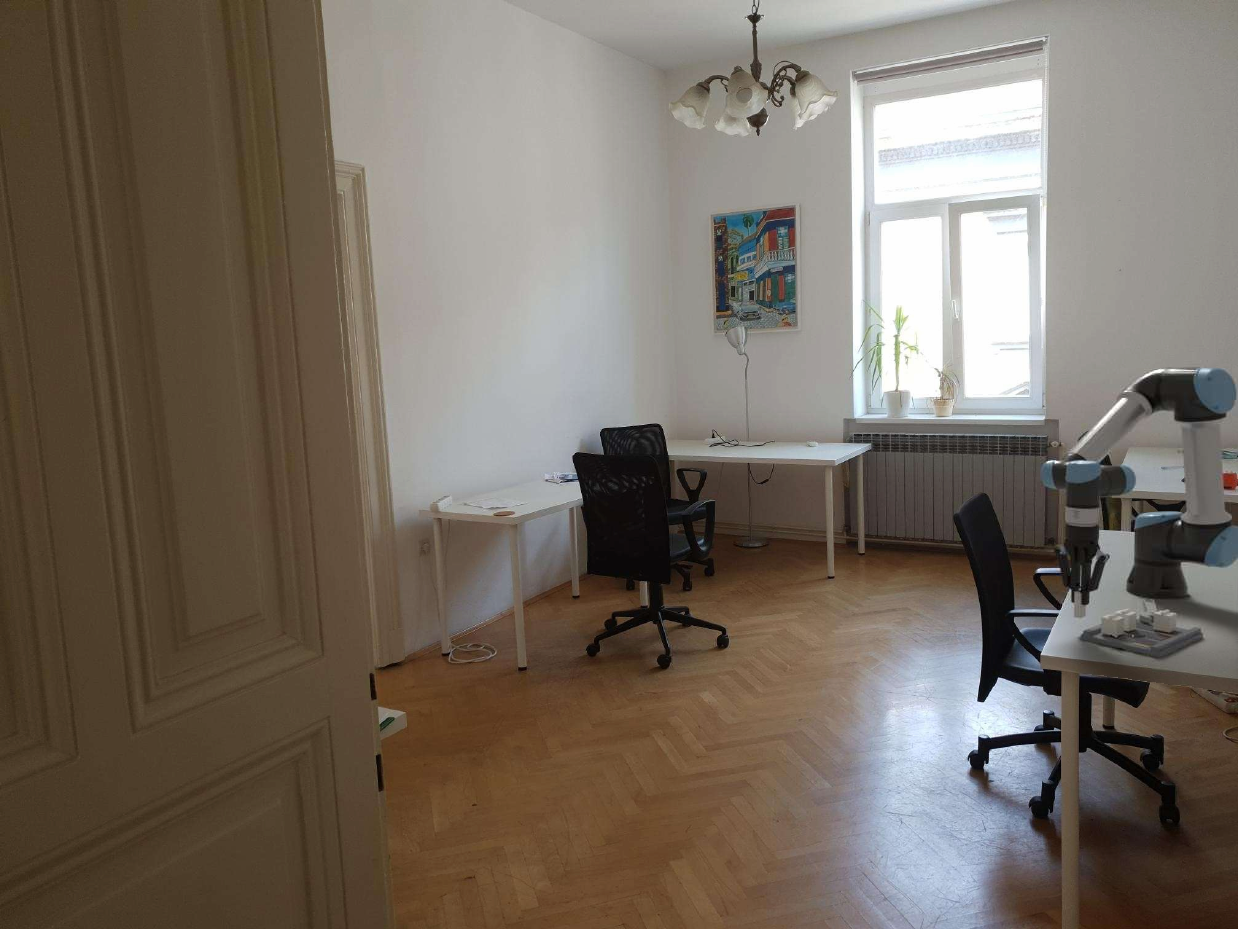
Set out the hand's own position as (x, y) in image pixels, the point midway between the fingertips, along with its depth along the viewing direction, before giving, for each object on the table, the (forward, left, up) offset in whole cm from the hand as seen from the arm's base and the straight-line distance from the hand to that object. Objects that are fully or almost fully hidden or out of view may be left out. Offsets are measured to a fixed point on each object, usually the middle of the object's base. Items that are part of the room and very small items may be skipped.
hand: (1079, 616), depth 223 cm
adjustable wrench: (-26, +6, -4) cm, 27 cm away
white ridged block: (0, +8, -2) cm, 8 cm away
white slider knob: (-6, +8, -2) cm, 10 cm away
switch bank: (-6, +12, -4) cm, 14 cm away
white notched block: (-12, +14, -2) cm, 19 cm away
